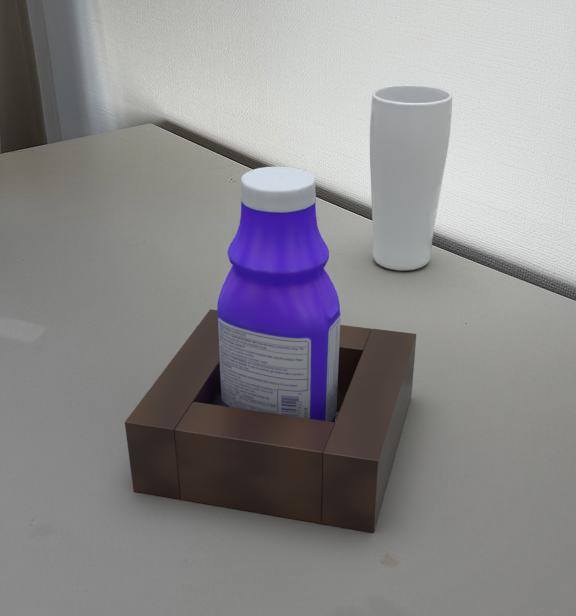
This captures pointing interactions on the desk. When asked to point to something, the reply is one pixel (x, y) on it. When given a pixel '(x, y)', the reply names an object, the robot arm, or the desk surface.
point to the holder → (276, 435)
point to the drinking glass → (407, 171)
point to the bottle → (279, 303)
